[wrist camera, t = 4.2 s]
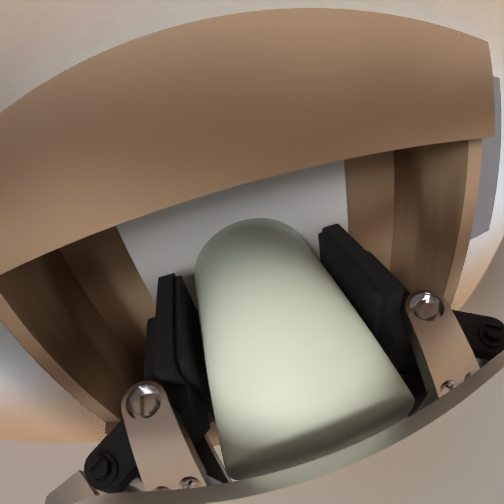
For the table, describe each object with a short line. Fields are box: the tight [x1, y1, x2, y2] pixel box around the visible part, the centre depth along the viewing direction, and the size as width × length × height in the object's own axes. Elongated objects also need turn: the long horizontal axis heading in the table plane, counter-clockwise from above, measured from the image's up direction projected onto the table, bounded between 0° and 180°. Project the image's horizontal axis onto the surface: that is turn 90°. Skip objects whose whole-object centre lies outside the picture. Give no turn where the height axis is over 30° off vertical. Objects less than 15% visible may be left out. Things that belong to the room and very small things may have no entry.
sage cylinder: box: [194, 218, 415, 481], centre depth 8 cm, size 4×4×7 cm
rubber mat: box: [470, 77, 501, 240], centre depth 13 cm, size 12×8×1 cm, turn 12°
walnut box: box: [0, 8, 495, 446], centre depth 10 cm, size 16×18×6 cm
